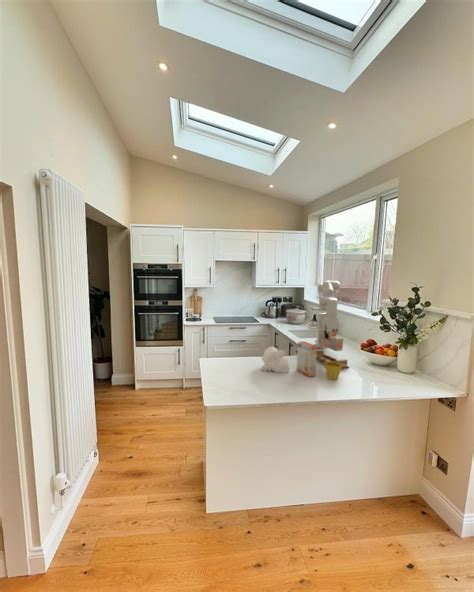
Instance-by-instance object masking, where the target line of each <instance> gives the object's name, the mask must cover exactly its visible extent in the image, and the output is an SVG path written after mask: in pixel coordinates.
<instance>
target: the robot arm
mask: <svg viewBox="0 0 474 592" xmlns="http://www.w3.org/2000/svg"><path fill="white" fill-rule="evenodd" d="M339 291H341V283H340V282H339V281H338V280H326V281H323V282H322V283H319V284H318V285H317V292H318V310H319V311H320V312H319V313H317V315H316V322H317V323H316V340H315V341H314V345H315V346H317V349H318V348H319V349H328V348H327V347H324V346H322V345H319V329H322V330H323V331H324V333H325V338H326V339H328V331H329V330H331V331H334V332H335V336H337V335H336V334H337V332H338V330H339V329H340V327H339V325H338V318H337V317H338V316H337V315H338V305H339V300H338V298H336V297H333V296H334V294H335V295H336V294H338V293H339Z"/></svg>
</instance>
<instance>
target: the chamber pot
mask: <svg viewBox="0 0 474 592" xmlns="http://www.w3.org/2000/svg"><path fill="white" fill-rule="evenodd" d="M285 312H286V315H285V316H286V320H287V322H288V323H289V324H291V325H301V324H303V323H304V321H305V319H306V313H307V311H306V310H304V309H299V308H296V307H295V308H293V309H292V308H290V309H286V310H285Z"/></svg>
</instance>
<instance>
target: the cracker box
mask: <svg viewBox="0 0 474 592" xmlns="http://www.w3.org/2000/svg"><path fill="white" fill-rule="evenodd" d="M317 350H318V347H317V346H315V344H312V343H310V342H307V341H305V340H304V341H298V342H297V357H296V360H297V361H296V371H298V372H299V373H300V374H303V375H304V376H306V377H309V378H310V377H315V376H316V368H317V367H316V366H317V361H316V354H317Z"/></svg>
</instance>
